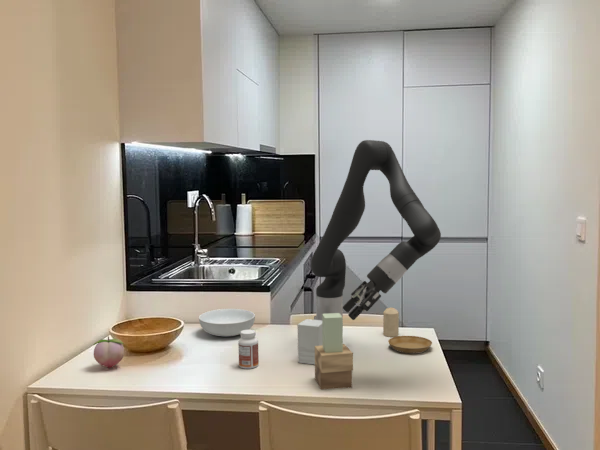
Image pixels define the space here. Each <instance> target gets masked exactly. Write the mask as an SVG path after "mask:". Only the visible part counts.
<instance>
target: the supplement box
mask: <svg viewBox="0 0 600 450" xmlns="http://www.w3.org/2000/svg"><path fill="white" fill-rule="evenodd" d="M296 326H297V362H298V363H301V364H308V365H314V366H315V346H322V345H323V338H322V320H314V319H310V318H305V319H304V320H302V321H301V322H299V323H298V324H297V325H296Z"/></svg>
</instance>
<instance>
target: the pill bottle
mask: <svg viewBox="0 0 600 450" xmlns="http://www.w3.org/2000/svg"><path fill="white" fill-rule="evenodd" d="M256 333H257V332H256V330H254V329H249V330H243V331H241V334H240V338H239V339H238V342H237V343H238V344H237V345H238V366H239V368H241V369H244V370H245V369H246V370H247V369H248V370H250V369H255V368H257V367H258V366H259V362H260V361H259V356H260V355H259V340H258V338H257V337H256Z"/></svg>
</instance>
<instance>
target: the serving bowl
mask: <svg viewBox="0 0 600 450" xmlns="http://www.w3.org/2000/svg"><path fill="white" fill-rule="evenodd" d="M255 319H256V314H255V313H254V312H253V311H251V310H247V309H243V308H220V309H218V308H217V309H212V310H208V311H206V312H203V313H201V314H200V315H199V316H198V320H199V325H200V327H201V328H202V330H203V331H204V332H206V333H207V334H209V335H213V336H218V337H227V338H229V337H235V336H238V335H241V331H243V330H251V328H252V327H253V326H254V323H255Z"/></svg>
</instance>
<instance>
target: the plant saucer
mask: <svg viewBox="0 0 600 450" xmlns="http://www.w3.org/2000/svg"><path fill="white" fill-rule="evenodd" d="M387 343H388V344H389V345H390V346H391V348H393V349H394V350H395V351H397V352H399V353H404V354H420V353H424V352H426V351H427V350H428V349H429V348H431V346H432V345H433V341H432V340H430V339H429V338H426V337H421V336H417V335H416V336H415V335H398V336H396V337H390V338H389V339H388V340H387Z"/></svg>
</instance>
